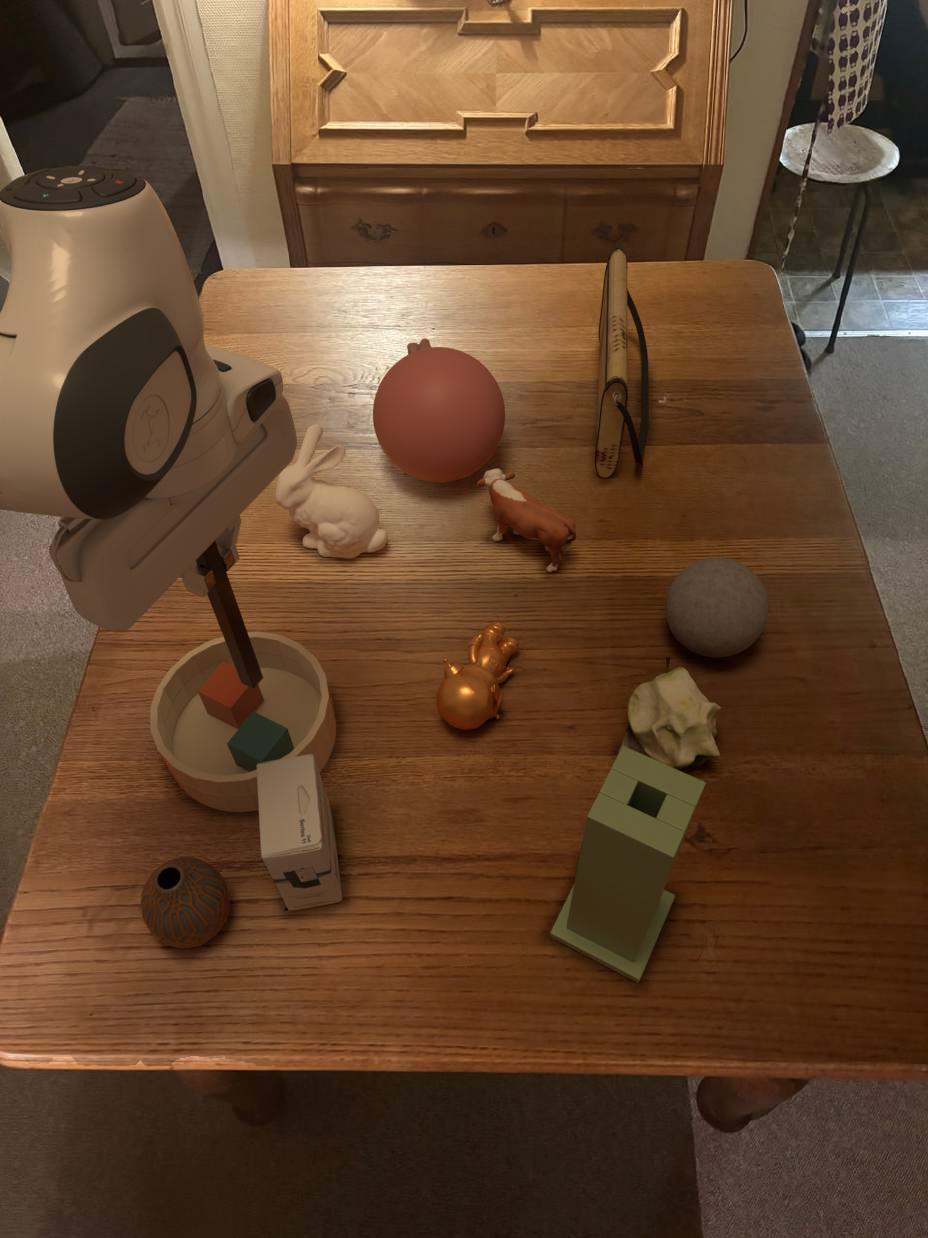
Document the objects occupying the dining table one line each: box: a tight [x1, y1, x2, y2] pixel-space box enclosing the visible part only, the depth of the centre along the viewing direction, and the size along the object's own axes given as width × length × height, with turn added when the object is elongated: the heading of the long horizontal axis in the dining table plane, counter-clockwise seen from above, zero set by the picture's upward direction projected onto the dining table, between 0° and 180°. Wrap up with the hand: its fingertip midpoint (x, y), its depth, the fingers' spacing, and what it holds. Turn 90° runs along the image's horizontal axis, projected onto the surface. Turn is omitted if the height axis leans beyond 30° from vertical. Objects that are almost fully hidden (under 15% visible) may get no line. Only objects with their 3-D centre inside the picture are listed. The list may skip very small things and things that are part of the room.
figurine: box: [435, 621, 520, 730], centre depth 90 cm, size 8×6×12 cm
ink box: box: [257, 754, 343, 912], centre depth 77 cm, size 9×5×12 cm, turn 10°
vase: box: [140, 856, 231, 949], centre depth 75 cm, size 7×7×9 cm
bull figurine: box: [476, 468, 577, 573], centre depth 101 cm, size 4×13×8 cm, turn 46°
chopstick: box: [196, 541, 263, 689], centre depth 72 cm, size 1×1×18 cm
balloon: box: [372, 338, 506, 483], centre depth 108 cm, size 15×20×15 cm
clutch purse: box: [594, 247, 650, 478], centre depth 112 cm, size 30×7×15 cm, turn 174°
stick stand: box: [549, 746, 707, 984], centre depth 69 cm, size 8×8×22 cm
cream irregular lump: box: [618, 656, 722, 770], centre depth 86 cm, size 9×9×8 cm
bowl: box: [149, 631, 337, 813], centre depth 87 cm, size 16×17×6 cm
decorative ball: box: [664, 557, 770, 659], centre depth 91 cm, size 10×10×10 cm
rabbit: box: [274, 423, 389, 559], centre depth 101 cm, size 12×9×12 cm
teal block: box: [227, 711, 294, 772], centre depth 85 cm, size 4×4×4 cm
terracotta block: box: [198, 662, 264, 729], centre depth 89 cm, size 4×4×4 cm
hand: (214, 575), depth 68 cm, fingers closed on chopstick, 1 cm apart
